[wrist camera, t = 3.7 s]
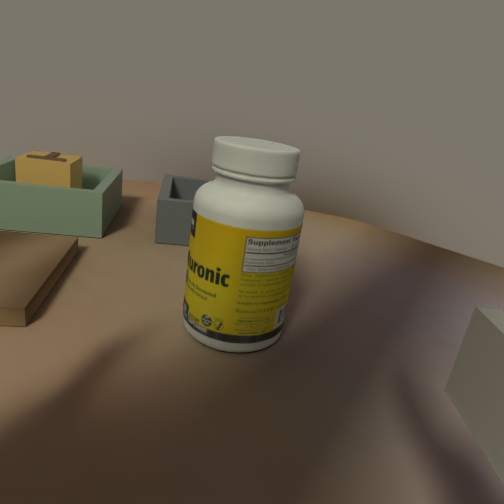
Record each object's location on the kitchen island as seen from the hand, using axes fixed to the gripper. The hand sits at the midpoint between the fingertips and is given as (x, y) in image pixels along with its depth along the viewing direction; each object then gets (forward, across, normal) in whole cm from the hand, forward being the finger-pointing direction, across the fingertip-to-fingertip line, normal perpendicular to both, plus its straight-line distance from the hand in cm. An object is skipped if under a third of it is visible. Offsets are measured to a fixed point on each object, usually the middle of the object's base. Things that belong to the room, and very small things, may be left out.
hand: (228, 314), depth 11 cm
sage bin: (+24, -17, -6) cm, 30 cm away
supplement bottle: (+10, 0, -6) cm, 11 cm away
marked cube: (+24, -17, -5) cm, 30 cm away
